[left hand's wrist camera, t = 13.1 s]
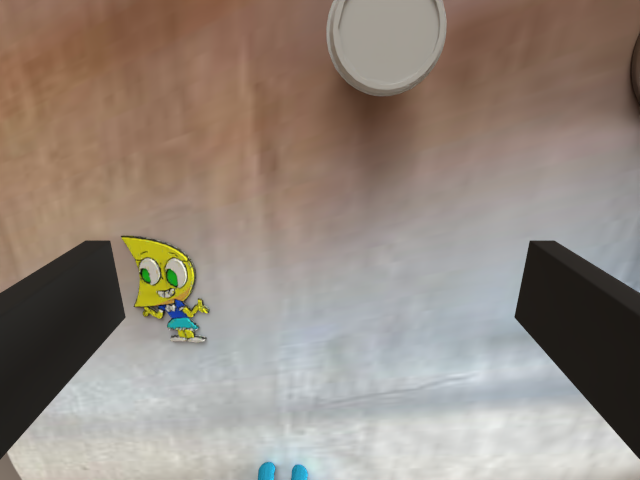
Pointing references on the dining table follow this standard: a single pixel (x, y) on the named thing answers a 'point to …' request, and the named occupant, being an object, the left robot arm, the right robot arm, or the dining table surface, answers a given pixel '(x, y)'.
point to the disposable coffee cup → (385, 42)
